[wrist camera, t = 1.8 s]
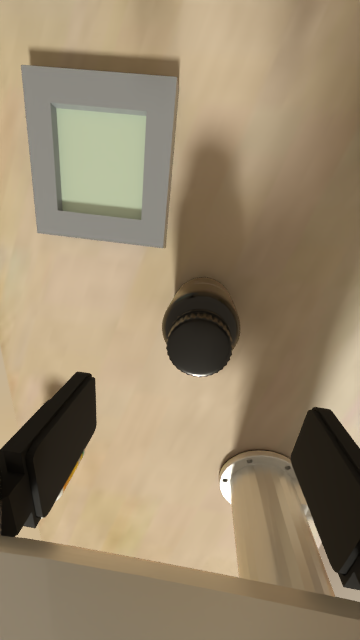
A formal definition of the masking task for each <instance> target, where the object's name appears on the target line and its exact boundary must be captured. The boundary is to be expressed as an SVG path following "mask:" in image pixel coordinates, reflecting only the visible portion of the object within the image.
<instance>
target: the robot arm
mask: <svg viewBox="0 0 360 640" xmlns="http://www.w3.org/2000/svg"><path fill="white" fill-rule="evenodd" d="M95 429H96V392H95V378H94V377H92V375H91V374H90V373H84V372H76V373H75V374H74V375H73V376H72V377H71V378H70V379H69V381H68V382H67V383H66V384H65V385H64V386H63V387H62V388H61V389H60V390H59V391H58V392H57V393H56V394H55V395H54V396H53V397H52V398H51V399H50V400H48V401H47V402H46V403H45V404H44V405H43V406H42V407H41V408H40V409H39V410H38V411H37V412H36V413H35V414H34V415H33V416H32V417H31V418H30V419H29V420H28V421H27V422H26V423H25V424H24V425H23V426H22V428H21V429H20V430H19V431H18V432H17V433H16V434H15V435H14V436H13V437H12V438H11V439H10V440H9V441H8V442H7V443H6V444H5V445H4V446H3V447H2V448H1V449H0V640H360V602H357V601H352V600H348V599H343V598H339V597H335V594H334V592H333V589H332V586H331V583H330V581H329V578H328V575H327V573H326V570H325V567H324V564H323V562H322V559H321V556H320V554H319V551H318V548H317V545H316V543H315V540H314V537H313V535H312V532H311V529H310V526H309V524H308V520H309V521H314V523H315V526H316V528H317V531H318V534H319V536H320V539H321V541H322V544H323V546H324V549H325V551H326V554H327V557H328V559H329V562H330V564H331V566H332V568H333V570H334V571H335V572H337V573H338V574H339V577H340V579H341V582H342V584H343V587H346V588H351V589H357V590H360V448H359V447H358V446H357V444H356V443H355V442H354V440H353V439H352V438H351V436H350V435H349V434H348V432H347V431H346V430H345V428H344V427H343V426H342V424H341V423H340V422H339V420H338V419H337V417H336V416H335V415H334V413H333V412H332V411H331V410H329V409H324V408H318V407H314V408H313V409H312V410H309V411H308V412H307V415H306V418H305V420H304V423H303V426H302V428H301V431H300V433H299V436H298V439H297V441H296V444H295V447H294V449H293V452H292V454H291V460H290V459H289V458H287V457H285V456H283V455H281V454H278V453H275V452H270V451H260V450H256V451H248V452H244V453H241V454H239V455H236V456H234V457H233V458H231V459H230V460H228V461H227V462H226V463H225V464H224V466H223V467H222V469H221V471H220V474H219V485H220V490H221V493H222V494H223V496H224V497H225V499H226V500H227V501H228V502H229V503H231V505H232V515H233V525H234V534H235V544H236V553H237V563H238V573H239V578H238V577H233V576H228V575H223V574H218V573H213V572H207V571H202V570H197V569H192V568H187V567H181V566H176V565H171V564H166V563H161V562H155V561H150V560H145V559H139V558H134V557H129V556H123V555H118V554H113V553H107V552H102V551H97V550H91V549H86V548H81V547H75V546H69V545H63V544H57V543H51V542H45V541H39V540H33V539H26V538H18V537H15V536H16V535H18V533H19V532H20V530H21V529H22V527H23V526H26V527H31V528H36V526H37V524H38V522H39V521H40V519H41V517H46V516H47V515H48V513H49V512H50V510H51V508H52V506H53V504H54V503H55V501H56V499H57V497H58V496H59V494H60V492H61V490H62V489H63V487H64V485H65V483H66V481H67V480H68V478H69V476H70V474H71V473H72V471H73V469H74V467H75V465H76V464H77V462H78V460H79V458H80V457H81V455H82V453H83V451H84V449H85V448H86V446H87V444H88V442H89V441H90V439H91V437H92V435H93V433H94V431H95Z"/></svg>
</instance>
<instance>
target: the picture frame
mask: <svg viewBox="0 0 360 640" xmlns="http://www.w3.org/2000/svg"><path fill="white" fill-rule="evenodd" d="M21 70H22V80H23V91H24V101H25V111H26V121H27V131H28V142H29V152H30V162H31V172H32V182H33V192H34V203H35V213H36V223H37V233H42V234H50V235H58V236H67V237H75V238H83V239H91V240H100V241H108V242H116V243H124V244H133V245H141V246H149V247H157V248H166V236H167V224H168V212H169V201H170V189H171V177H172V165H173V153H174V142H175V130H176V118H177V106H178V94H179V86H178V80H177V77H172V76H159V75H146V74H133V73H120V72H107V71H95V70H82V69H69V68H56V67H43V66H30V65H21Z"/></svg>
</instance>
